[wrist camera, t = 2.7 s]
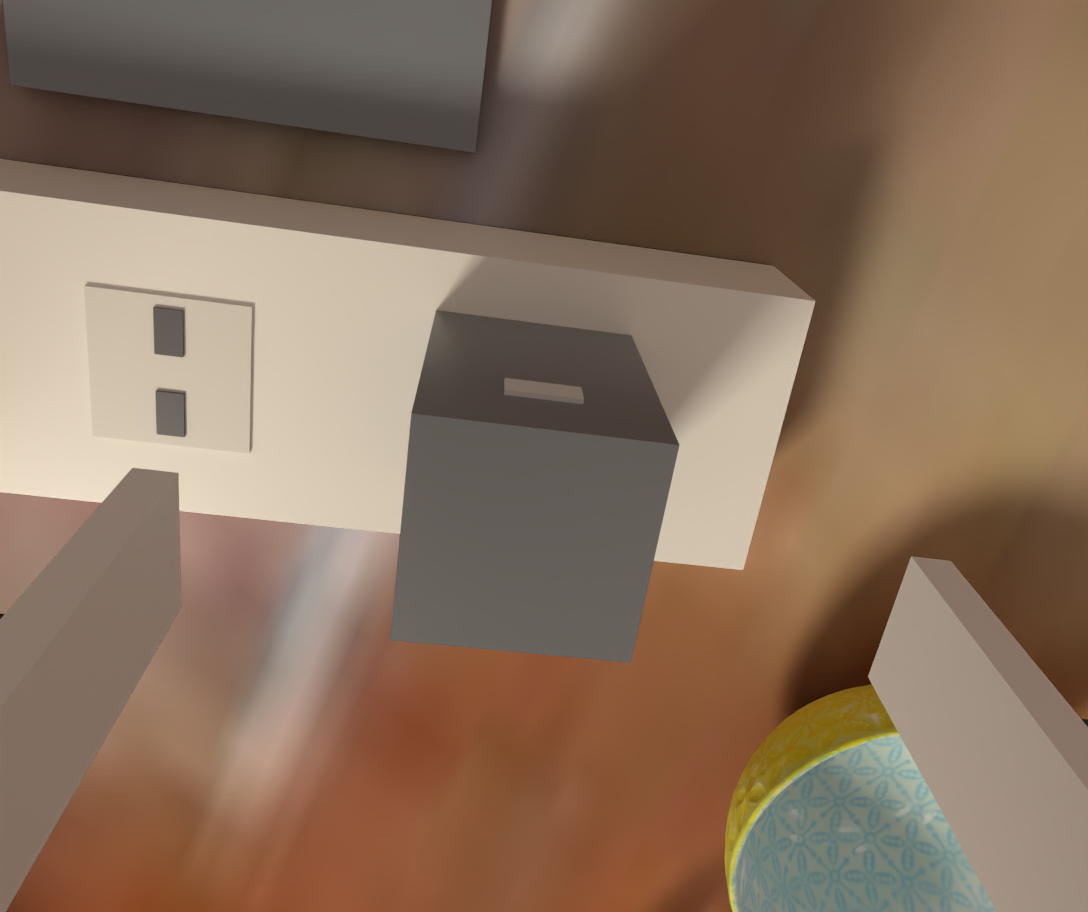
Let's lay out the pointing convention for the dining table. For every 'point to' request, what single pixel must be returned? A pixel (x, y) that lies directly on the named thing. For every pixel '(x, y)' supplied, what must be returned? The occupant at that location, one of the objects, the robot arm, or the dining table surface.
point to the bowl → (842, 820)
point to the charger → (531, 490)
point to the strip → (344, 348)
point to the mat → (268, 60)
